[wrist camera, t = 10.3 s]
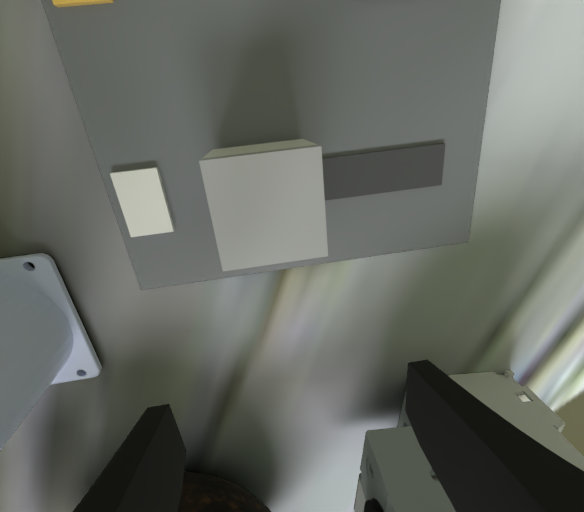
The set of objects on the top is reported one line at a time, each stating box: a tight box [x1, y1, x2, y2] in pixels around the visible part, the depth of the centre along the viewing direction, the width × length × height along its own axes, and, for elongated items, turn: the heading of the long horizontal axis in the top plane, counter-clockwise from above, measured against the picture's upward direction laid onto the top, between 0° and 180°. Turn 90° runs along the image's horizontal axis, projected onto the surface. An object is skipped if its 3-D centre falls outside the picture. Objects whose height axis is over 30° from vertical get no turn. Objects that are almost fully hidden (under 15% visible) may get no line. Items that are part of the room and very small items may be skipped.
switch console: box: [41, 0, 501, 290], centre depth 14 cm, size 18×18×1 cm
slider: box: [199, 139, 328, 271], centre depth 13 cm, size 4×4×4 cm
